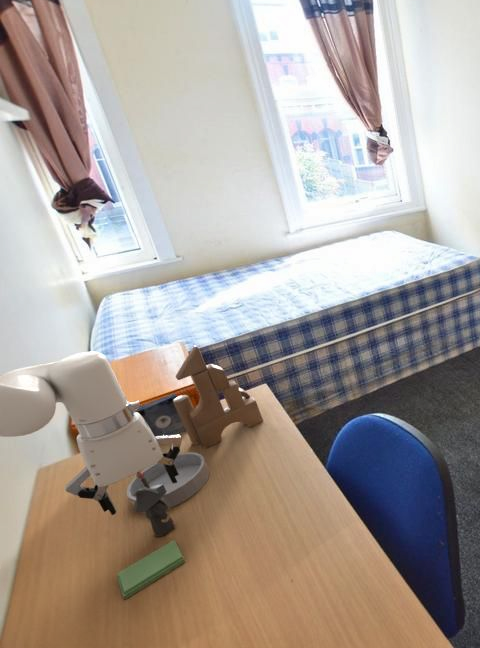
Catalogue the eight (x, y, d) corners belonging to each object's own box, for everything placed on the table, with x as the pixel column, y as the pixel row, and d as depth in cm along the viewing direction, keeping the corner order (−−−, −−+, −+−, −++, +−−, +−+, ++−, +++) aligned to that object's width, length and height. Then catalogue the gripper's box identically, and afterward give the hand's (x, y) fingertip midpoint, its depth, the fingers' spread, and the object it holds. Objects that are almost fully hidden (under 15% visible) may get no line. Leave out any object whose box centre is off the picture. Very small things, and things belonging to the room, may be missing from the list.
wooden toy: (254, 411, 127) (223, 329, 117) (263, 420, 123) (231, 336, 113) (190, 441, 117) (150, 354, 107) (197, 452, 113) (156, 363, 103)
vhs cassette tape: (189, 423, 125) (175, 392, 121) (191, 428, 123) (177, 396, 119) (103, 460, 114) (85, 427, 110) (104, 465, 112) (85, 432, 108)
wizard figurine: (189, 523, 92) (165, 476, 88) (159, 546, 88) (132, 498, 83) (166, 511, 96) (142, 465, 91) (136, 532, 91) (109, 485, 87)
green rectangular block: (124, 599, 78) (121, 594, 78) (118, 579, 82) (115, 573, 82) (185, 562, 84) (182, 557, 83) (176, 544, 88) (174, 539, 87)
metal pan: (141, 524, 93) (133, 511, 92) (127, 491, 103) (120, 479, 101) (218, 482, 102) (212, 470, 101) (199, 455, 112) (194, 444, 110)
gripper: (158, 391, 90) (190, 461, 96) (38, 437, 79) (83, 513, 85) (168, 404, 85) (201, 477, 92) (41, 456, 74) (89, 535, 80)
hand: (144, 494), depth 88 cm, fingers open, 9 cm apart
